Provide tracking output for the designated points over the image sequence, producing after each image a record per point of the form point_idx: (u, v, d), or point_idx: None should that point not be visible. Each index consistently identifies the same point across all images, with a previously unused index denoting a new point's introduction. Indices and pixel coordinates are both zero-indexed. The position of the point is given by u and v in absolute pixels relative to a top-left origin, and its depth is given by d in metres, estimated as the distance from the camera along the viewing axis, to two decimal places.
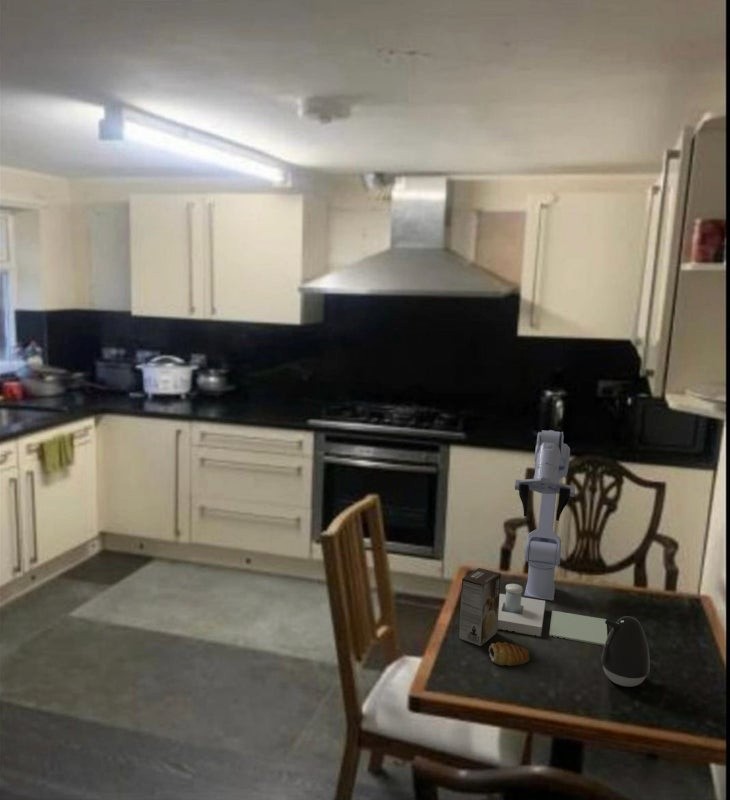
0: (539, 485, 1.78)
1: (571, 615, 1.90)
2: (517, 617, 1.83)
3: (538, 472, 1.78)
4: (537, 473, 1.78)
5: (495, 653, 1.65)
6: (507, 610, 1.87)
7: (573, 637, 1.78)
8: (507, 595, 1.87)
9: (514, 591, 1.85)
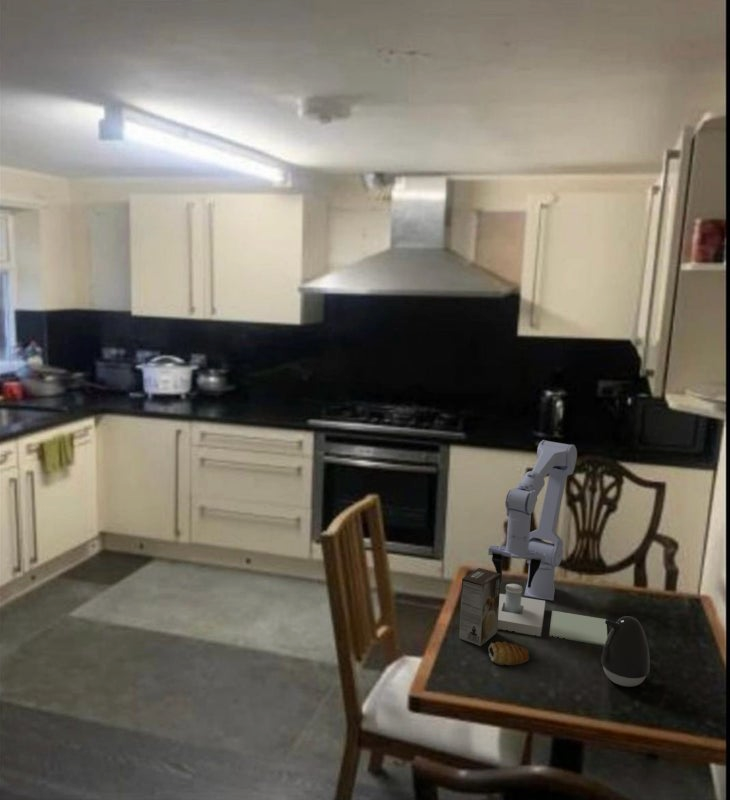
0: None
1: (571, 615, 1.90)
2: (517, 617, 1.83)
3: (509, 544, 1.84)
4: (508, 545, 1.84)
5: (495, 653, 1.65)
6: (507, 610, 1.87)
7: (573, 637, 1.78)
8: (507, 595, 1.87)
9: (514, 591, 1.85)
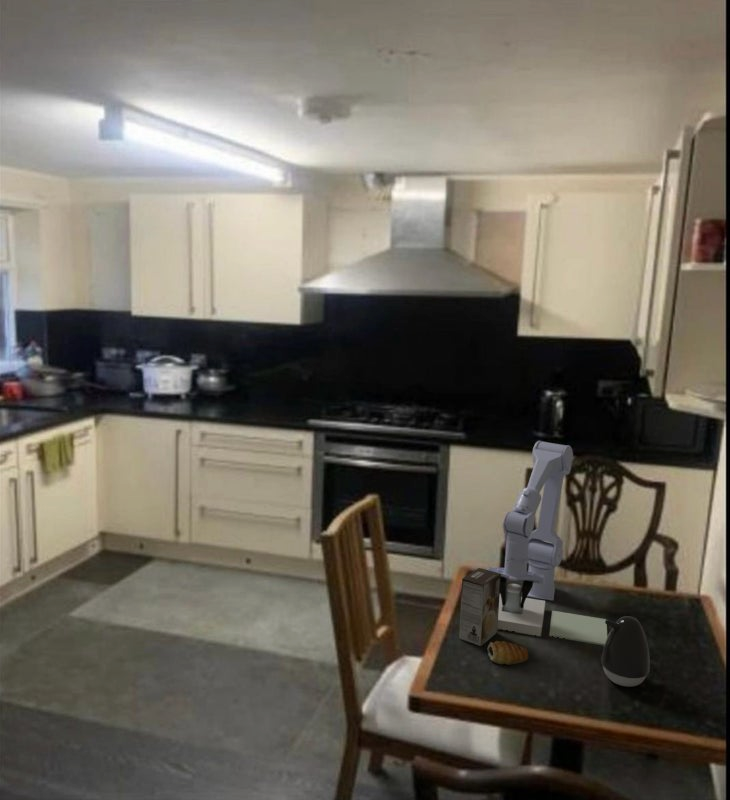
0: None
1: (571, 615, 1.90)
2: (517, 617, 1.83)
3: (507, 567, 1.85)
4: (507, 567, 1.85)
5: (494, 652, 1.65)
6: (507, 610, 1.87)
7: (573, 637, 1.78)
8: (507, 595, 1.87)
9: (514, 591, 1.85)
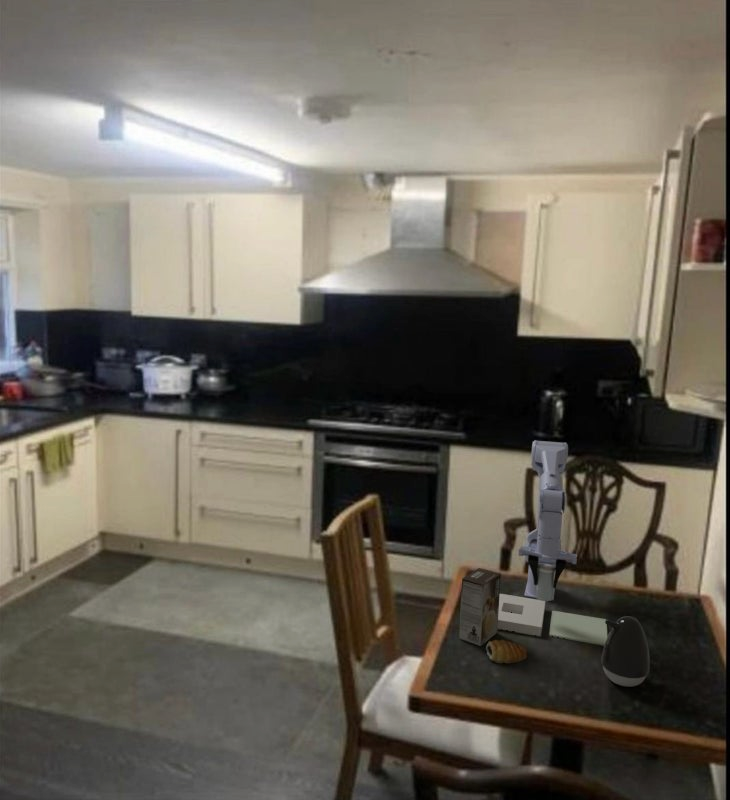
0: None
1: (571, 615, 1.90)
2: (517, 617, 1.83)
3: (540, 545, 1.81)
4: (539, 546, 1.81)
5: (493, 651, 1.66)
6: (538, 590, 1.84)
7: (573, 637, 1.78)
8: (539, 575, 1.83)
9: (547, 571, 1.82)
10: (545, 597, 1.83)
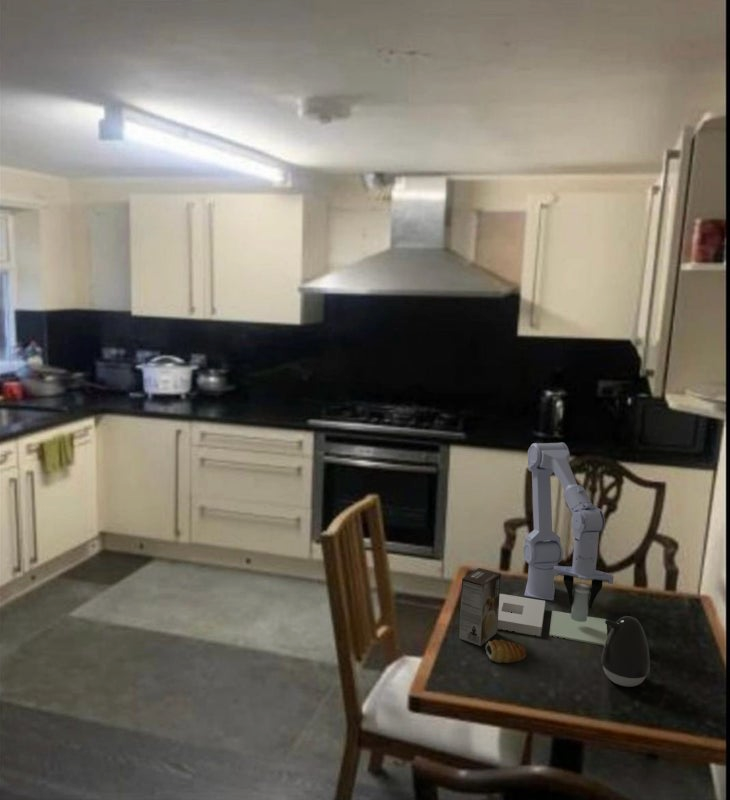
0: None
1: None
2: (517, 617, 1.83)
3: (576, 565, 1.79)
4: (575, 566, 1.79)
5: (493, 651, 1.66)
6: (574, 611, 1.82)
7: (573, 637, 1.78)
8: (575, 595, 1.81)
9: (583, 591, 1.80)
10: (581, 618, 1.81)
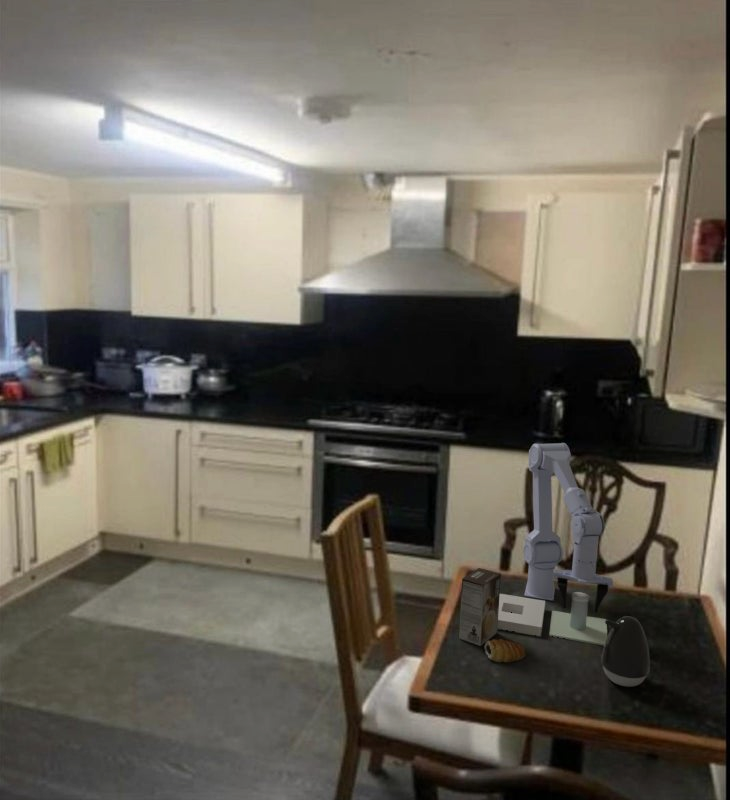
0: None
1: None
2: (517, 617, 1.83)
3: (576, 569, 1.79)
4: (575, 570, 1.80)
5: (492, 650, 1.66)
6: (573, 619, 1.82)
7: (573, 637, 1.78)
8: (573, 604, 1.82)
9: (581, 600, 1.80)
10: (580, 626, 1.81)
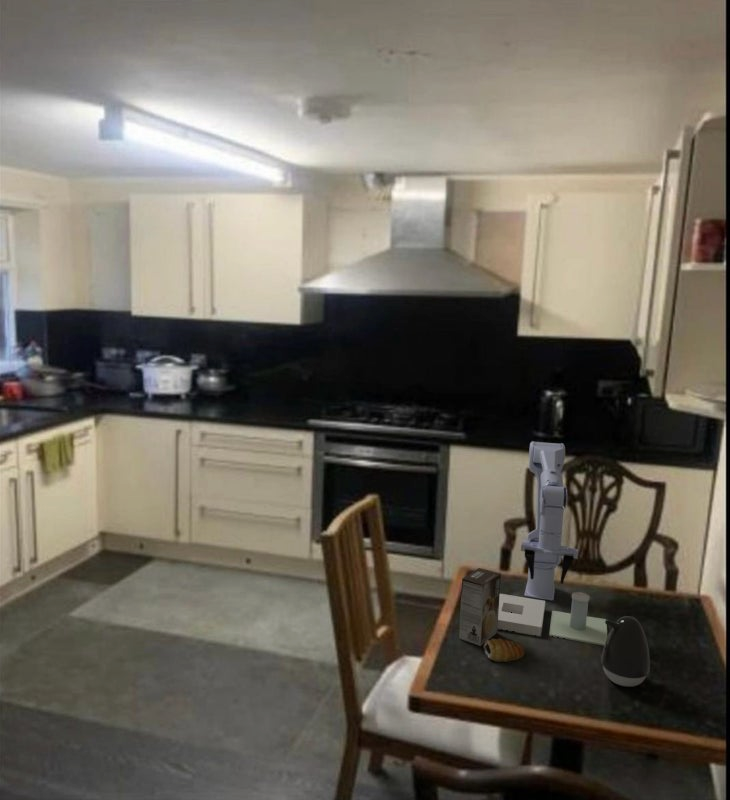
0: None
1: None
2: (517, 617, 1.83)
3: (542, 540, 1.85)
4: (541, 541, 1.85)
5: (492, 650, 1.66)
6: (573, 619, 1.82)
7: (573, 637, 1.78)
8: (573, 604, 1.82)
9: (581, 600, 1.80)
10: (580, 626, 1.81)
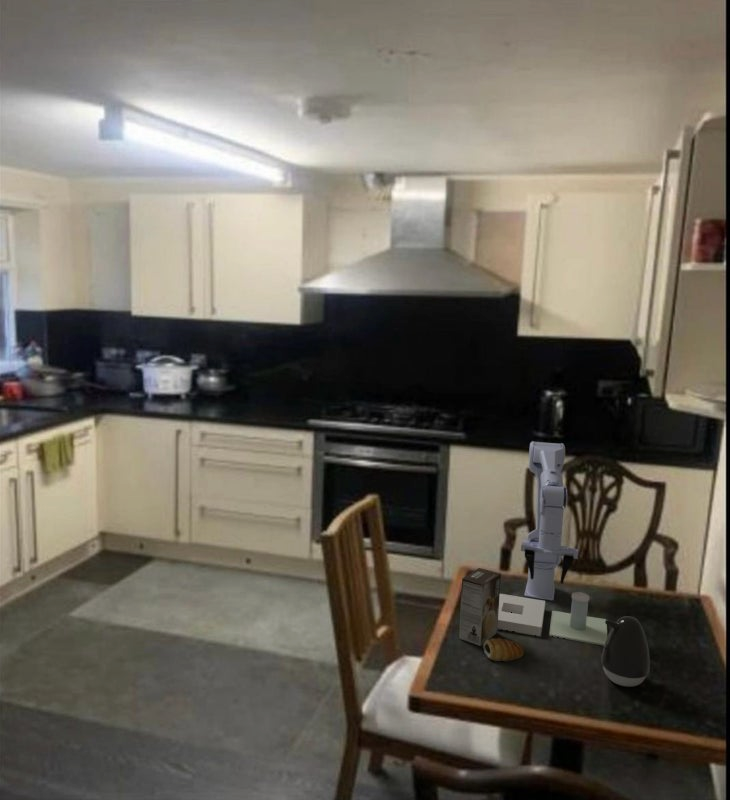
0: None
1: None
2: (517, 617, 1.83)
3: (542, 540, 1.85)
4: (541, 541, 1.85)
5: (491, 649, 1.66)
6: (573, 619, 1.82)
7: (573, 637, 1.78)
8: (573, 604, 1.82)
9: (581, 600, 1.80)
10: (580, 626, 1.81)
